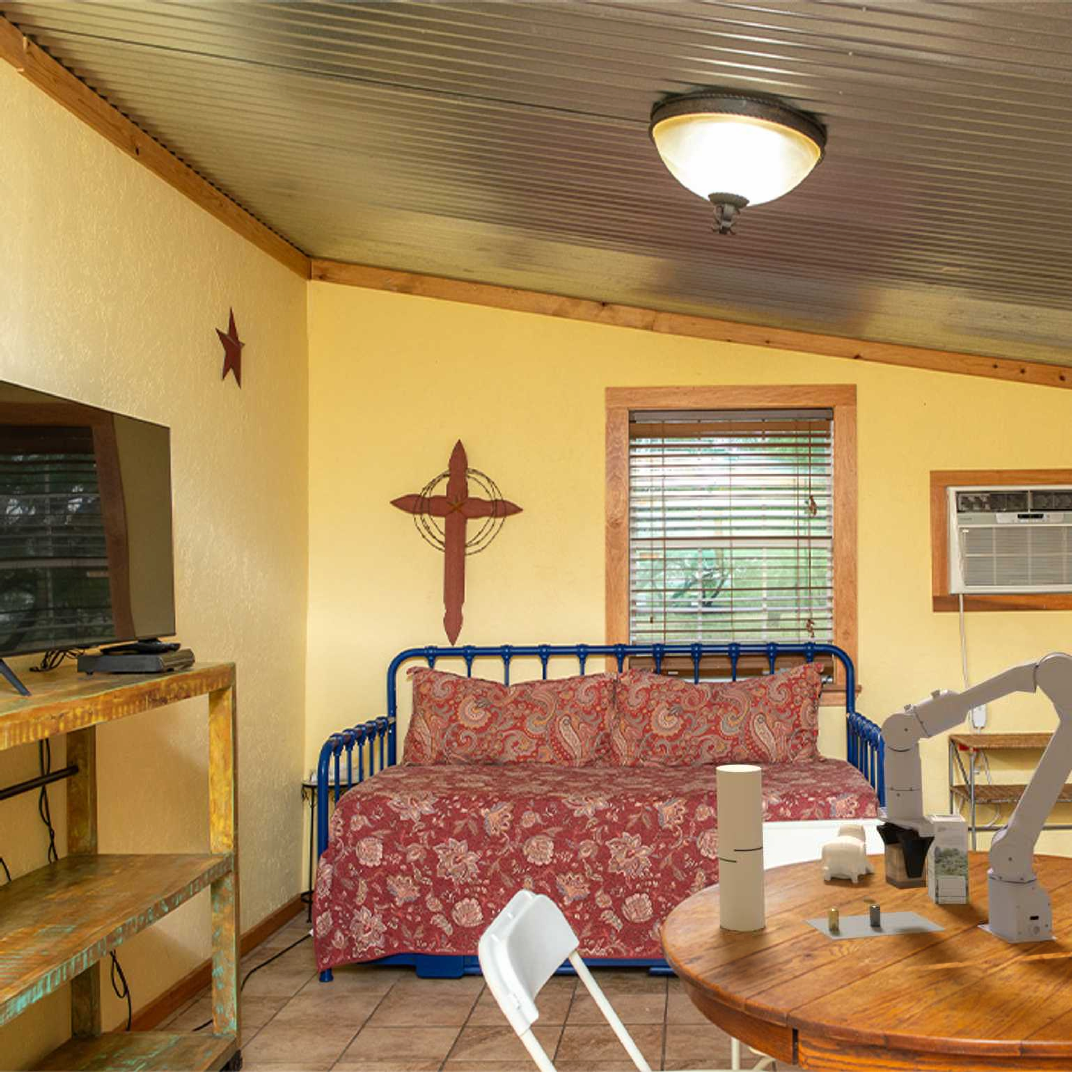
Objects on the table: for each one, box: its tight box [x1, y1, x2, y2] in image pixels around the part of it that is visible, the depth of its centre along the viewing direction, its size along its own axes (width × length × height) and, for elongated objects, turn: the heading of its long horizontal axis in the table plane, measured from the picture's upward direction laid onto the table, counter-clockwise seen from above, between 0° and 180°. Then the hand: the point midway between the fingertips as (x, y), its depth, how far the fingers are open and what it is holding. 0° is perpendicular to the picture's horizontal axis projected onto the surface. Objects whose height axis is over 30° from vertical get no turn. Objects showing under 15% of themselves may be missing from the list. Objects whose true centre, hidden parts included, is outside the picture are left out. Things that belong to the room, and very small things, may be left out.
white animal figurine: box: [820, 821, 875, 884], centre depth 229 cm, size 9×8×15 cm
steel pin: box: [869, 904, 881, 927], centre depth 193 cm, size 2×2×4 cm
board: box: [802, 910, 948, 941], centre depth 194 cm, size 11×19×1 cm, turn 102°
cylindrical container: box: [715, 764, 766, 932], centre depth 198 cm, size 7×7×25 cm
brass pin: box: [827, 908, 840, 931], centre depth 192 cm, size 2×2×4 cm
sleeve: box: [883, 844, 928, 890], centre depth 196 cm, size 5×5×6 cm
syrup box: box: [925, 813, 970, 905], centre depth 208 cm, size 6×6×14 cm
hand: (906, 873), depth 196 cm, fingers closed on sleeve, 5 cm apart
